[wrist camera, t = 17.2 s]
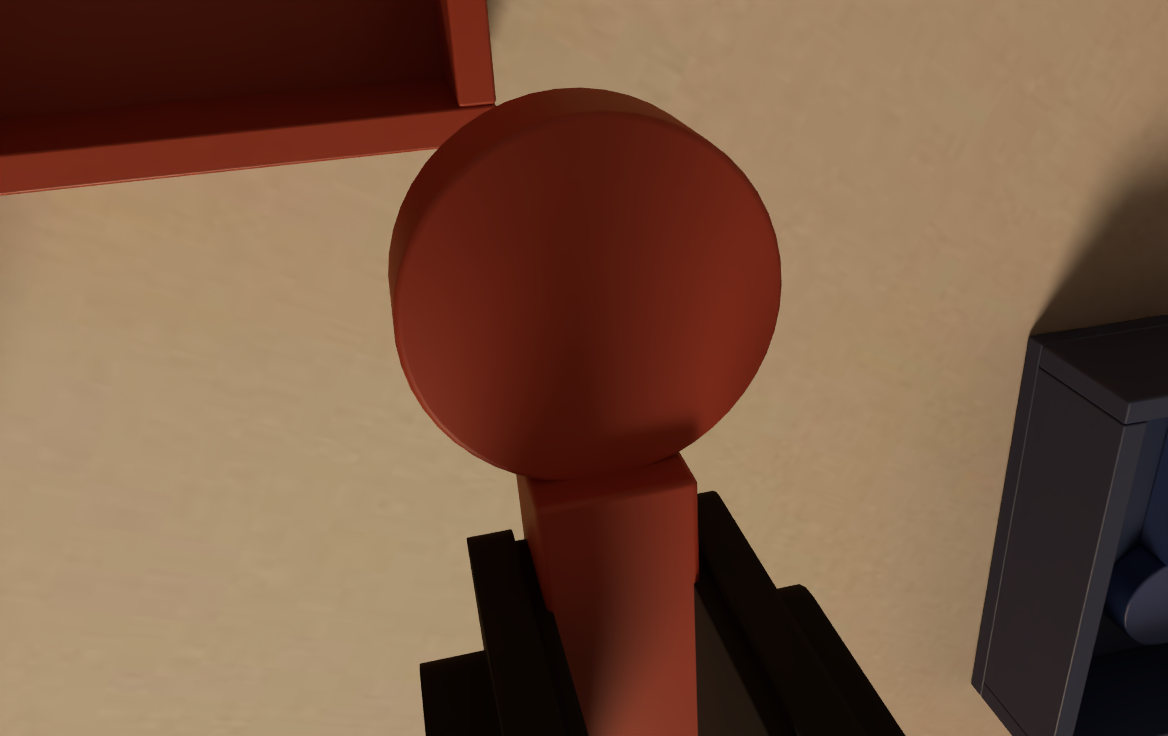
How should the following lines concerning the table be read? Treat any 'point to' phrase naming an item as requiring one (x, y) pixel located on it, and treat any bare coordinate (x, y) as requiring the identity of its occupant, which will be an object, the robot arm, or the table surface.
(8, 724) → the table surface
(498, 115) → the brick-red spoon
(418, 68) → the brick-red bin
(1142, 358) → the navy bin
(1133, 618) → the navy spoon
